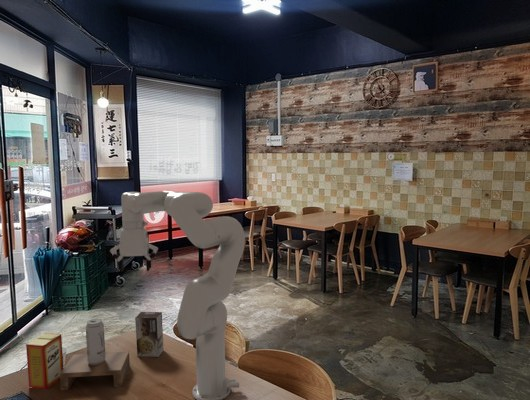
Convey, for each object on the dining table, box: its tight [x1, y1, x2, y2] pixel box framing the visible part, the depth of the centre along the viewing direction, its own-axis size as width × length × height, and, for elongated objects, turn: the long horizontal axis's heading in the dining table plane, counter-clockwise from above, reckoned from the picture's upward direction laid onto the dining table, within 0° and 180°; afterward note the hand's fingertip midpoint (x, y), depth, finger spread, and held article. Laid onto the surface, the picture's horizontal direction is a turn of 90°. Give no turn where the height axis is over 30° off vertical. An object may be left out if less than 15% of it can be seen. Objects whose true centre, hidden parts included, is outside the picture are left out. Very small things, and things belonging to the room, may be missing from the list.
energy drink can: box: [85, 318, 106, 365], centre depth 153 cm, size 6×6×15 cm
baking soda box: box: [25, 332, 64, 390], centre depth 152 cm, size 10×6×16 cm
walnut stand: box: [59, 351, 131, 391], centre depth 154 cm, size 20×14×6 cm
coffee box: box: [134, 311, 164, 358], centre depth 173 cm, size 9×6×16 cm
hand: (135, 270), depth 162 cm, fingers open, 9 cm apart
